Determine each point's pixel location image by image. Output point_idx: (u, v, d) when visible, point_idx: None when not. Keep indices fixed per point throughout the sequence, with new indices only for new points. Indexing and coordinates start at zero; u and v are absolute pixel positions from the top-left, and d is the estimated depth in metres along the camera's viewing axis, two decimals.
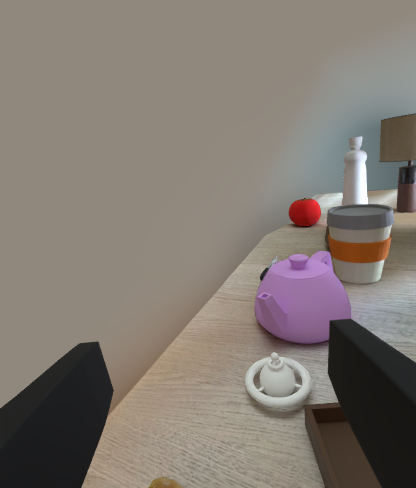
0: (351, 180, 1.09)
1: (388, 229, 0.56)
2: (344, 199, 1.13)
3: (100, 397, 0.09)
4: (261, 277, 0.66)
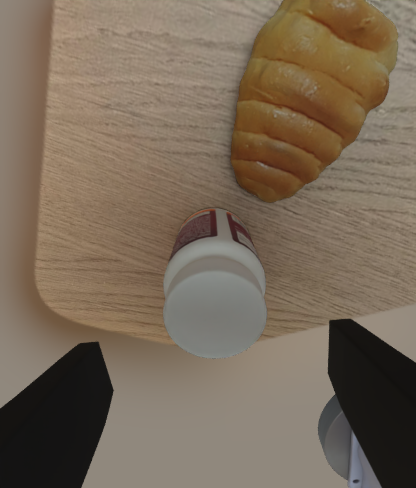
0: None
1: None
2: None
3: (100, 397, 0.09)
4: None
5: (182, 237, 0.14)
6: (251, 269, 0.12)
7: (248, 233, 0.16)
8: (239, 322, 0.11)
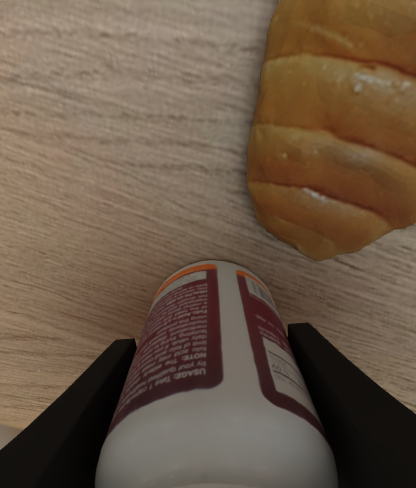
0: None
1: None
2: None
3: None
4: None
5: (148, 347, 0.07)
6: (312, 482, 0.05)
7: (277, 314, 0.09)
8: None
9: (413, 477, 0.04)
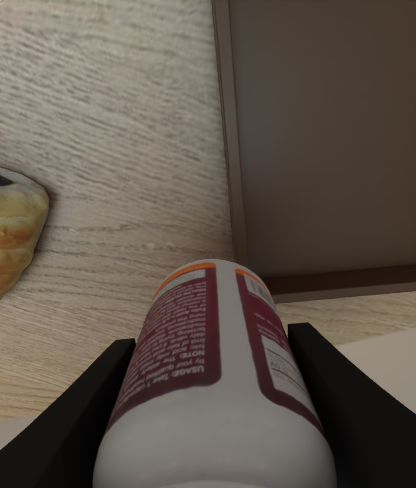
0: None
1: None
2: None
3: None
4: None
5: (147, 344, 0.07)
6: (310, 479, 0.05)
7: (276, 313, 0.09)
8: None
9: (413, 477, 0.04)
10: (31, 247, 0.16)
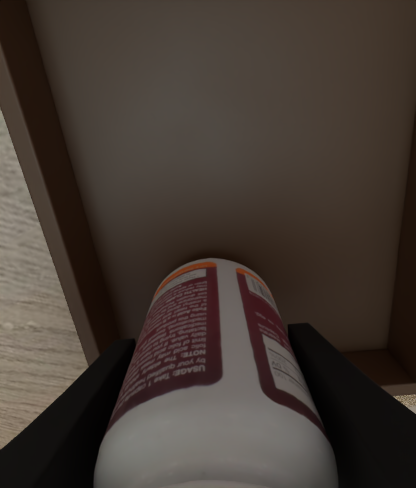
0: None
1: None
2: None
3: None
4: None
5: (147, 344, 0.07)
6: (312, 479, 0.05)
7: (277, 312, 0.09)
8: None
9: (413, 477, 0.04)
10: None
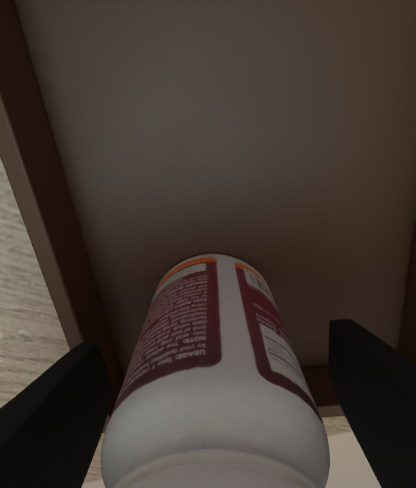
0: None
1: None
2: None
3: (100, 397, 0.09)
4: None
5: (151, 333, 0.07)
6: (304, 453, 0.05)
7: (275, 305, 0.09)
8: None
9: None
10: None
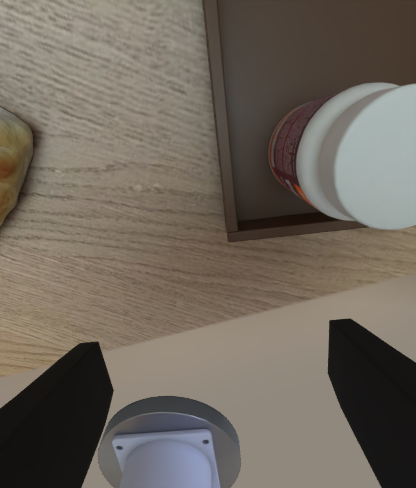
0: None
1: None
2: None
3: (100, 397, 0.09)
4: None
5: (307, 109, 0.12)
6: None
7: None
8: None
9: None
10: (15, 184, 0.16)
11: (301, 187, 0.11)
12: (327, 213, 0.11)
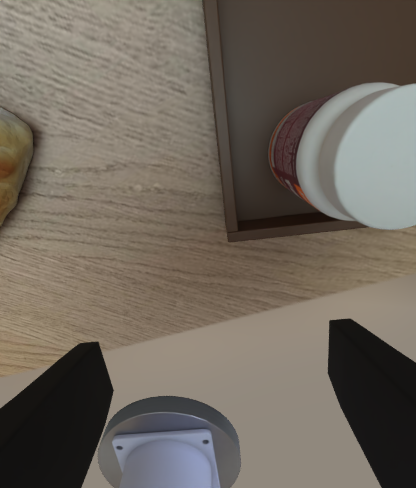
0: None
1: None
2: None
3: (100, 397, 0.09)
4: None
5: (307, 109, 0.12)
6: None
7: None
8: None
9: None
10: (15, 184, 0.16)
11: (301, 187, 0.11)
12: (327, 213, 0.11)
